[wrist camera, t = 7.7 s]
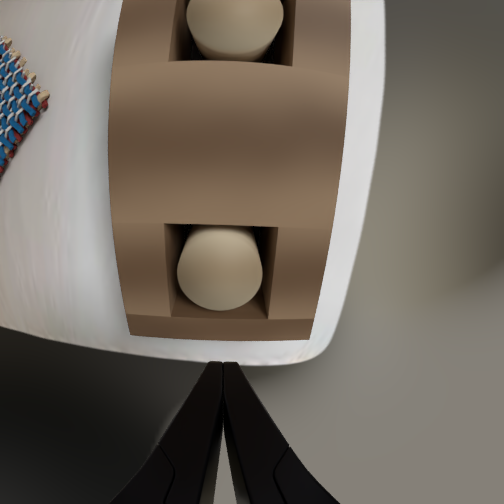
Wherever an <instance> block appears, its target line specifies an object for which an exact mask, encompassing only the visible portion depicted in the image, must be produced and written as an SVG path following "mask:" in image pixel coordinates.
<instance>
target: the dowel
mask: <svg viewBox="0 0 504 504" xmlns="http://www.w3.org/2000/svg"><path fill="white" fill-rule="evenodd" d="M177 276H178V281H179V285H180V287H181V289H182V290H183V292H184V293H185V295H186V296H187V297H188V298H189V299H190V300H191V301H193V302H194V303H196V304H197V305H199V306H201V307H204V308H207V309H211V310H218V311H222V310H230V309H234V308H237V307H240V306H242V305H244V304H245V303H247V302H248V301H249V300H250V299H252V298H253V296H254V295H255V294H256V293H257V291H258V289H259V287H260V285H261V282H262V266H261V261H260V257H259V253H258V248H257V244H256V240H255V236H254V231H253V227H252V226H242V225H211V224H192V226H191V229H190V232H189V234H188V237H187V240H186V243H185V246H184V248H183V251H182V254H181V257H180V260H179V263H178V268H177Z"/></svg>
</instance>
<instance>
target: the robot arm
mask: <svg viewBox="0 0 504 504" xmlns="http://www.w3.org/2000/svg"><path fill="white" fill-rule="evenodd" d="M223 425H224V435H225V441H226V447H227V453H228V459H229V465H230V470H231V476H232V481H233V486H234V491H235V497H236V501H237V504H340V503H339V502H338V501H337V500H336V499H335V498H334V497H333V496H332V495H331V494H330V493H329V492H328V491H326V489H325V488H324V487H323V486H322V485H321V484H320V483H319V482H318V481H317V480H316V479H315V478H314V477H313V476H312V475H311V473H310V472H309V471H308V470H307V469H306V468H305V466H304V465H303V464H302V462H301V461H300V460H299V458H298V457H297V456H296V454H295V453H294V451H293V450H292V448H291V447H289V444H288V443H287V441H286V440H285V438H284V437H283V435H282V433H281V432H280V430H279V429H278V428H277V426H276V424H275V423H274V421H273V420H272V418H271V417H270V415H269V413H268V412H267V410H266V409H265V407H264V405H263V404H262V402H261V401H260V399H259V397H258V396H257V394H256V393H255V391H254V389H253V388H252V386H251V384H250V383H249V381H248V380H247V378H246V376H245V374H244V373H243V371H242V369H241V368H240V366H239V364H238V363H237V362H224V363H222V362H220V361H210V362H208V364H207V366H206V367H205V369H204V370H203V372H202V373H201V375H200V377H199V378H198V380H197V382H196V383H195V385H194V387H193V388H192V390H191V391H190V393H189V394H188V396H187V398H186V399H185V401H184V402H183V404H182V406H181V407H180V409H179V410H178V412H177V414H176V415H175V417H174V418H173V420H172V422H171V423H170V425H169V426H168V428H167V429H166V431H165V433H164V434H163V436H162V437H161V439H160V440H159V442H158V445H156V446H155V448H154V449H153V451H152V453H151V454H150V456H149V457H148V458H147V460H146V461H145V463H144V464H143V465H142V467H141V468H140V469H139V470H138V472H137V473H136V474H135V475H134V477H133V478H132V479H131V480H130V481H129V482H128V483H127V484H126V486H125V487H124V488H123V489H122V490H121V491H120V492H119V493H118V494H117V495H116V496H115V497H114V498H113V500H111V502H110V503H109V504H213V502H214V494H215V486H216V479H217V471H218V463H219V455H220V448H221V440H222V432H223Z"/></svg>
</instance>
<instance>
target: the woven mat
mask: <svg viewBox="0 0 504 504" xmlns="http://www.w3.org/2000/svg"><path fill="white" fill-rule="evenodd" d="M2 38H3V36H2V35H1V37H0V173H2V172H3V170H4V169H3V167H4V165H6V164H7V163H8V161H7V159H8V158H9V157H13V155H14V150H15V149H16V147H17V145H16V144H17V143H18V141H19V142H20V141H21V140H22V139H23V137H22V135H23V134H25V133H26V132H27V131H28V129H27V127H28V126H29V125H32V124H33V119H34V117H37V116H38V115H39V114H40V112H39V110H40V109H41V107H42V108H46V107H47V105H48V102H47V100H46V99H47V98H48V97H49V95H50V94H49V92H48V90H45V91H43V92H41V93H40V92H38V91H39V89H40V85H39V84H37V85H36V87H34V85H33V82H34V81H35V79H36V74H35V73H34V72H33V73H30V74H29V75H28V73H29V70H28V69H26V70H24V71H23V70H22V69H23V66H24V64H25V63H26V62H27V60H26V59H25V57H23V59H22V60H21V61H18V59H17V58H19V57H20V51H16V52H15V50H14V48H12V49H8V48H9V47H10V45H11V43H12V40H11V38H9V39H7V37H6V36H5V37H4V38H3V39H2ZM27 75H28V78H27V77H26V76H27ZM4 93H5V94H4ZM0 177H1V176H0Z"/></svg>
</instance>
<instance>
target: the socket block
mask: <svg viewBox="0 0 504 504" xmlns="http://www.w3.org/2000/svg"><path fill="white" fill-rule="evenodd" d="M280 1H281V4H282V7H283V21H282V24H281V26H280V28H279V30H278V32H277V34H276V35H275V44H274V59H273V64H266V63H254V62H239V61H190V59H191V49H192V40H193V36H192V33H191V31H190V28H189V26H188V22H187V17H186V14H187V8H188V5H189V2H190V0H123V3H122V8H121V13H120V18H119V23H118V29H117V35H116V42H115V49H114V56H113V65H112V75H111V86H110V100H109V123H108V166H109V190H110V205H111V217H112V228H113V237H114V245H115V253H116V260H117V267H118V274H119V280H120V286H121V291H122V297H123V302H124V307H125V312H126V317H127V322H128V326H129V331H130V335H135V336H146V337H159V338H173V339H192V340H220V341H283V340H309V338H310V334H311V330H312V326H313V322H314V317H315V313H316V309H317V304H318V300H319V295H320V290H321V286H322V281H323V276H324V271H325V266H326V260H327V255H328V250H329V244H330V238H331V233H332V227H333V221H334V214H335V208H336V201H337V194H338V187H339V180H340V172H341V164H342V156H343V147H344V137H345V127H346V116H347V104H348V89H349V71H350V43H351V0H280ZM184 224H211V225H242V226H261V228H260V240H259V252H258V253H259V257H260V261H261V266H262V282H261V285H260V287H259V289H258V291H257V293H256V294H255V295H254V296H253V298H252V299H250V300H249V301H248V302H247V303H245V304H244V305H242V306H240V307H237V308H234V309H230V310H222V311H218V310H211V309H207V308H204V307H201V306H199V305H197V304H196V303H194V302H193V301H191V300H190V299H189V298H188V297H187V296H186V295H185V293H184V292H183V290H182V289H181V287H180V285H179V281H178V276H177V268H178V263H179V260H180V257H181V254H182V251H183V248H184V246H185V242H184Z"/></svg>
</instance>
